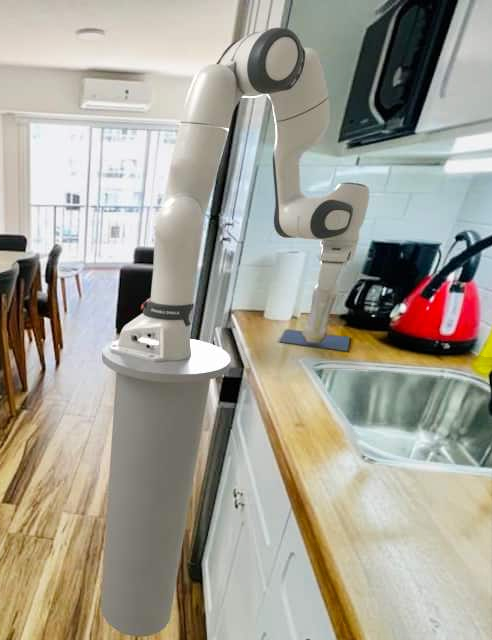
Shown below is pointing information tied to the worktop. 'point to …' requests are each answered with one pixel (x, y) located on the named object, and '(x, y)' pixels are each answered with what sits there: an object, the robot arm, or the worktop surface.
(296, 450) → the worktop surface
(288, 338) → the cloth
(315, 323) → the plastic bottle
